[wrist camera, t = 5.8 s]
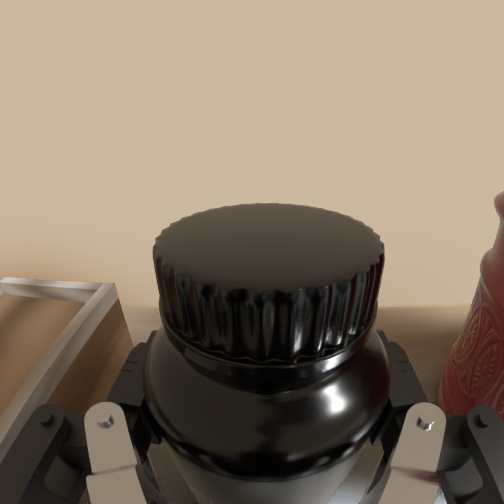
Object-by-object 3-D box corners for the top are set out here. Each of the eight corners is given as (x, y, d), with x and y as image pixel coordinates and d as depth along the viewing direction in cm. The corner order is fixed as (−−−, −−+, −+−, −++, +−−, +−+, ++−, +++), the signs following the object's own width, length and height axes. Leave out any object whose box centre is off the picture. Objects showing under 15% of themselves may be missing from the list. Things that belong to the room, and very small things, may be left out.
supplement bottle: (205, 547, 7) (37, 366, 2) (185, 433, 13) (124, 206, 8) (359, 508, 9) (501, 274, 4) (308, 409, 15) (332, 187, 10)
